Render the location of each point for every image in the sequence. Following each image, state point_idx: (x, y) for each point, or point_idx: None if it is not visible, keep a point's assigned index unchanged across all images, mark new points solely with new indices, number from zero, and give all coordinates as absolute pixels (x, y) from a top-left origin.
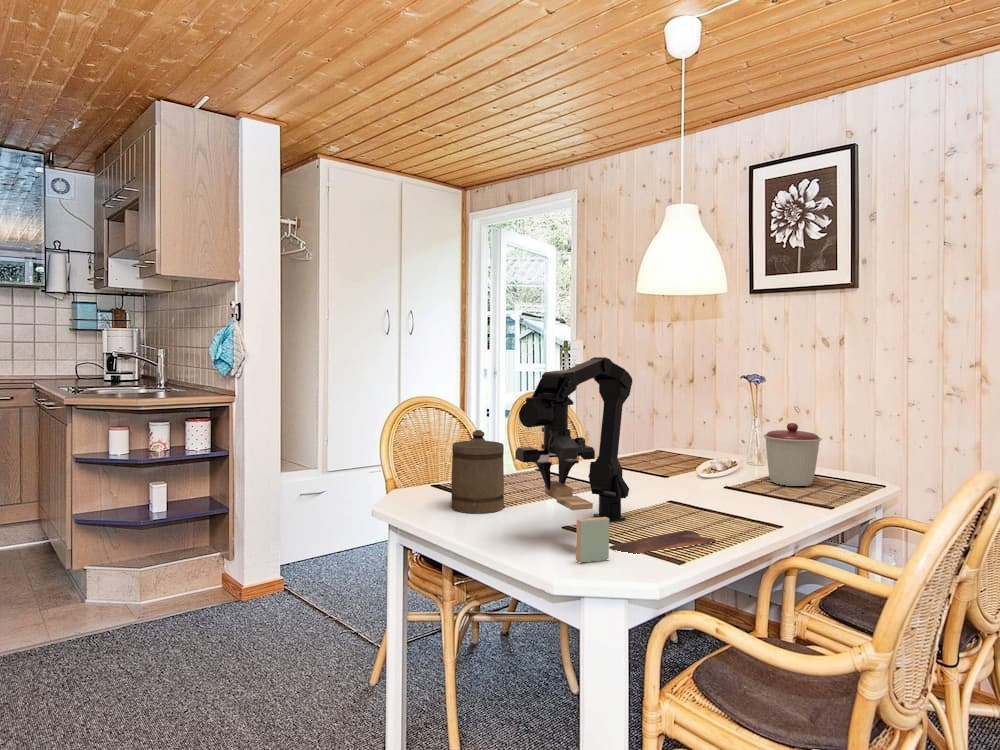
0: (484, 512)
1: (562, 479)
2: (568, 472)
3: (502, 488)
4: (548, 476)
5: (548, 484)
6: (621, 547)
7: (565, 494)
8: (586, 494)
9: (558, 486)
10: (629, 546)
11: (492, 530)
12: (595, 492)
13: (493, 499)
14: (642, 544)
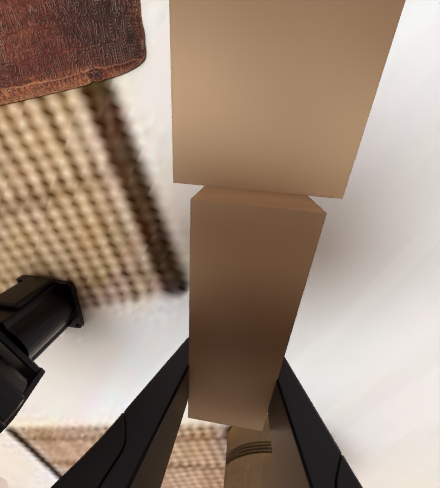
0: None
1: (177, 392)
2: (98, 447)
3: (240, 476)
4: (322, 454)
5: (294, 380)
6: (107, 19)
7: (265, 195)
8: (56, 418)
9: (275, 303)
10: (76, 14)
11: (355, 333)
12: (32, 369)
13: (270, 447)
14: (24, 12)
